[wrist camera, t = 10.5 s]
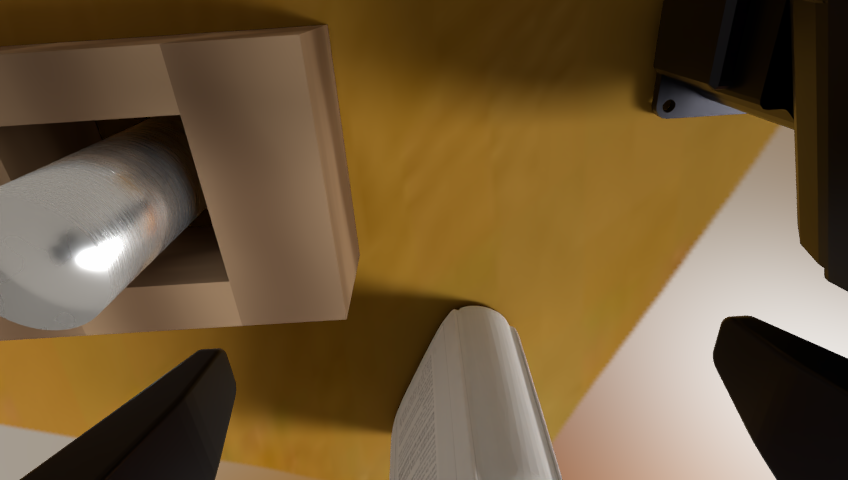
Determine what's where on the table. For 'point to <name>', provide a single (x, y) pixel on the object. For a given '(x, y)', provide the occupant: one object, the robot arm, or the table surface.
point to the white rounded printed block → (472, 408)
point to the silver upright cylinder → (94, 223)
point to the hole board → (206, 168)
